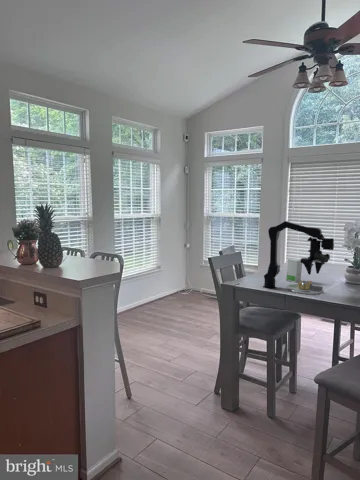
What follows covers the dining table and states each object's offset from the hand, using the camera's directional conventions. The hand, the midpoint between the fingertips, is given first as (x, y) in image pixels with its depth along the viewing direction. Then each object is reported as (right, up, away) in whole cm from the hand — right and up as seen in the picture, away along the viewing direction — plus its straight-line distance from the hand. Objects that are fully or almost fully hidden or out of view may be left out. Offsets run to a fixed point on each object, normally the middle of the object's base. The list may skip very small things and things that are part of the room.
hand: (313, 274), depth 215 cm
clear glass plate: (-2, -11, +10) cm, 15 cm away
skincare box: (-1, -9, +36) cm, 37 cm away
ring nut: (0, -10, +8) cm, 13 cm away
